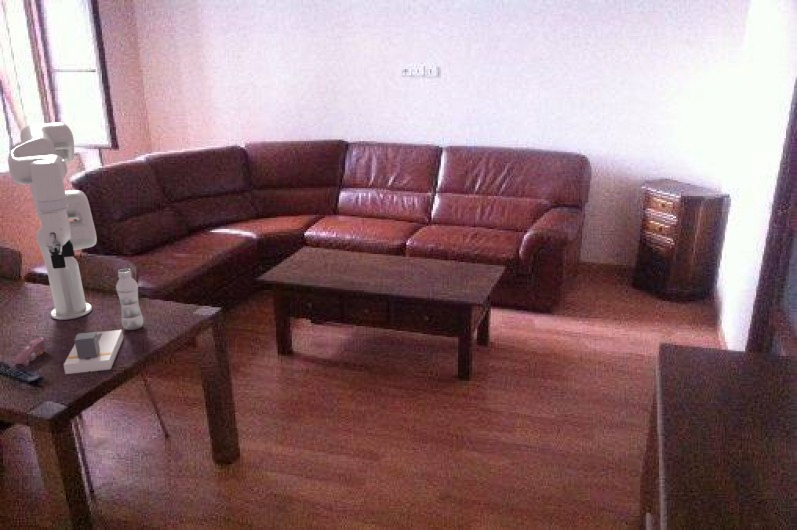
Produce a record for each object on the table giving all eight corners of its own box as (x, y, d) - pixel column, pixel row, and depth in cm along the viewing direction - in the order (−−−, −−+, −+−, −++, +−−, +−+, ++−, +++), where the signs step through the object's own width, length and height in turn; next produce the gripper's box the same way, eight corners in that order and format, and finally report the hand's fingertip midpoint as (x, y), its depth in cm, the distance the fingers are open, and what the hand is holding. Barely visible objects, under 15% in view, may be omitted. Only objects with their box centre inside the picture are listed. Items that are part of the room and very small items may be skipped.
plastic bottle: (134, 322, 213) (124, 265, 206) (149, 326, 210) (139, 269, 203) (118, 330, 208) (108, 272, 201) (133, 334, 205) (123, 275, 198)
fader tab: (81, 352, 186) (77, 333, 184) (100, 350, 187) (96, 331, 185) (78, 358, 183) (74, 339, 181) (97, 356, 184) (93, 337, 182)
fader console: (82, 342, 200) (80, 333, 199) (123, 338, 202) (121, 329, 201) (65, 374, 181) (63, 364, 180) (110, 369, 184) (108, 359, 183)
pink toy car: (26, 370, 187) (31, 352, 184) (12, 363, 187) (17, 344, 184) (49, 354, 196) (54, 336, 193) (35, 347, 196) (40, 329, 193)
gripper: (47, 198, 187) (58, 253, 193) (28, 213, 171) (41, 273, 177) (74, 196, 188) (85, 251, 194) (58, 211, 172) (70, 271, 178)
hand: (64, 262), depth 186 cm, fingers open, 9 cm apart
